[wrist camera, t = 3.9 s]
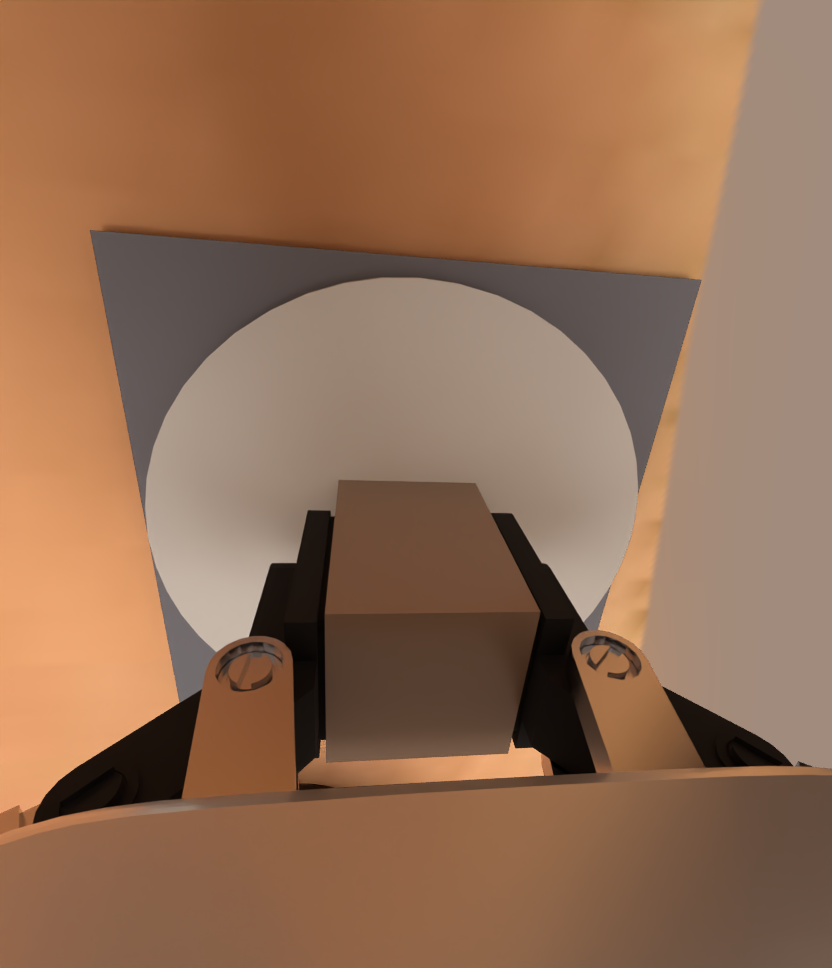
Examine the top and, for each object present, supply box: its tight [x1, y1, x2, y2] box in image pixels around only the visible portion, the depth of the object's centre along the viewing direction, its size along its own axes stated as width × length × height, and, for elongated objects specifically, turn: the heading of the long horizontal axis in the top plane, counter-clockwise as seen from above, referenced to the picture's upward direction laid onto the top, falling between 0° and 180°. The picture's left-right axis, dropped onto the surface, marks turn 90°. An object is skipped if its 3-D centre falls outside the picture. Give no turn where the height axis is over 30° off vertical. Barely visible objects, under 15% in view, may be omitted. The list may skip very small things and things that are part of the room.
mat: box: [90, 230, 701, 702], centre depth 14 cm, size 14×14×1 cm
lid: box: [145, 277, 638, 763], centre depth 11 cm, size 13×13×6 cm
